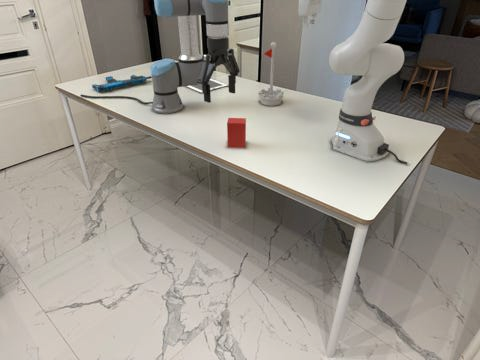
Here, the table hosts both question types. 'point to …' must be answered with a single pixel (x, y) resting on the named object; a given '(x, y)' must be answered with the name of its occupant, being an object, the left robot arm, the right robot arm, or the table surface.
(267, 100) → the flag stand
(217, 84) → the tablet
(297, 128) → the table surface
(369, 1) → the right robot arm
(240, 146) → the block
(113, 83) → the submachine gun
